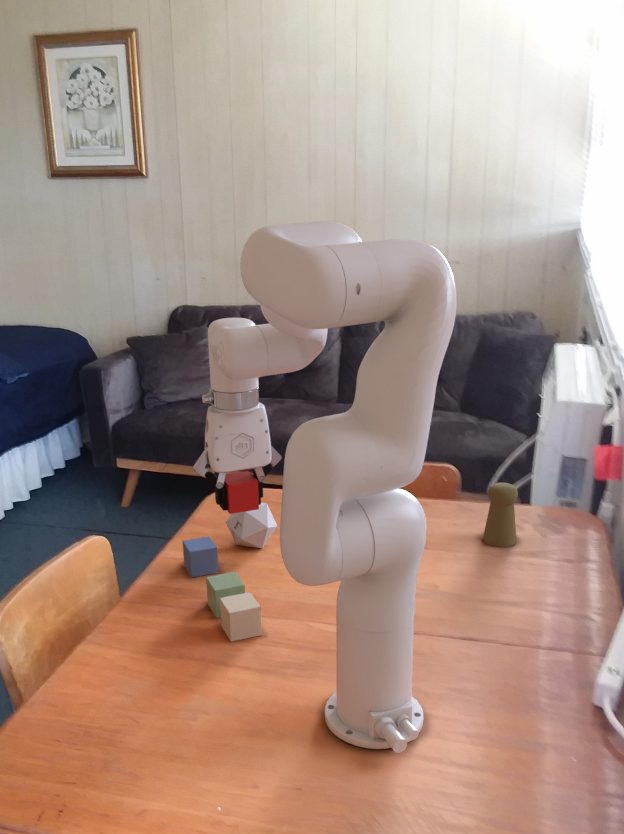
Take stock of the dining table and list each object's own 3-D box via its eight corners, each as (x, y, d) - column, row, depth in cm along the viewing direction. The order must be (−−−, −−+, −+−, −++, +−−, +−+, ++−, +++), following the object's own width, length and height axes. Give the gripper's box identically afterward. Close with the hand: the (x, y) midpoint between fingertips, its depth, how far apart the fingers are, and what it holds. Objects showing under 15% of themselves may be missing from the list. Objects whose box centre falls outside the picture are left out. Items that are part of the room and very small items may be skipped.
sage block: (246, 612, 135) (244, 584, 134) (216, 618, 134) (214, 590, 132) (236, 598, 140) (235, 571, 138) (207, 604, 138) (205, 576, 137)
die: (227, 537, 164) (212, 512, 156) (262, 509, 166) (249, 482, 158) (253, 565, 159) (239, 540, 151) (289, 535, 161) (277, 509, 153)
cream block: (261, 635, 129) (260, 606, 127) (230, 642, 127) (229, 613, 126) (251, 619, 133) (249, 591, 131) (221, 626, 132) (219, 597, 130)
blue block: (218, 572, 149) (217, 547, 147) (191, 577, 147) (189, 552, 146) (210, 560, 153) (209, 536, 152) (184, 565, 152) (182, 540, 150)
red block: (259, 509, 137) (258, 480, 135) (229, 514, 135) (228, 485, 133) (249, 498, 141) (248, 470, 139) (221, 503, 140) (219, 475, 138)
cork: (482, 545, 155) (485, 489, 151) (483, 531, 160) (486, 478, 156) (516, 548, 153) (521, 492, 149) (516, 534, 158) (520, 480, 155)
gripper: (188, 411, 126) (195, 521, 132) (294, 397, 131) (296, 505, 137) (176, 398, 133) (183, 504, 139) (277, 386, 137) (280, 489, 144)
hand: (239, 503), depth 138 cm, fingers closed on red block, 5 cm apart
